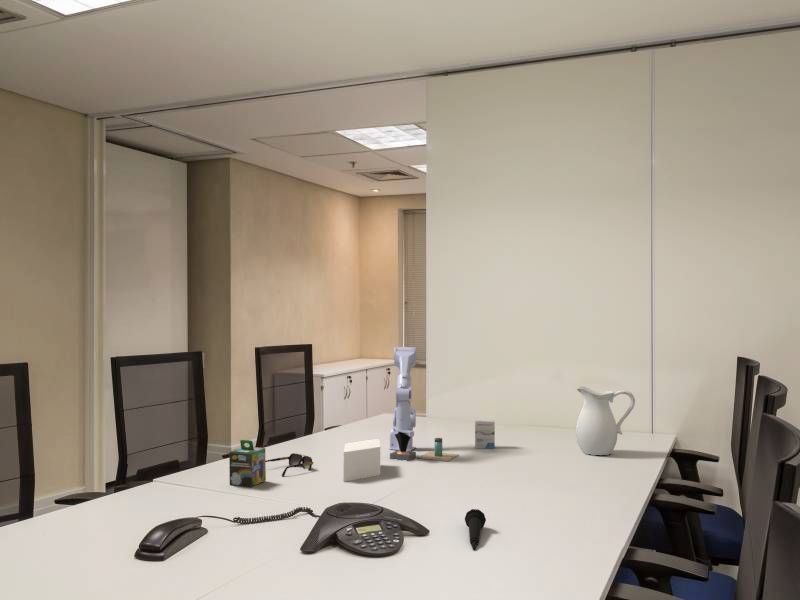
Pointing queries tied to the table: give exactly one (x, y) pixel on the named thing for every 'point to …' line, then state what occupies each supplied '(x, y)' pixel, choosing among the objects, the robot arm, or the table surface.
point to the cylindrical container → (438, 447)
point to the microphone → (475, 525)
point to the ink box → (484, 434)
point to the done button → (403, 452)
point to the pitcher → (599, 421)
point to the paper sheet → (444, 457)
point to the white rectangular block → (361, 459)
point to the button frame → (402, 455)
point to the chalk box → (247, 465)
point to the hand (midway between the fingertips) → (403, 451)
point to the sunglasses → (296, 461)
